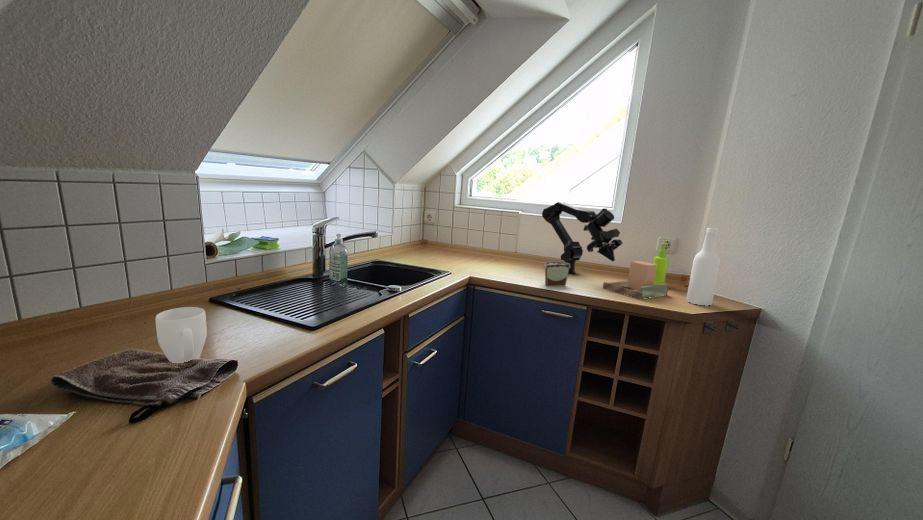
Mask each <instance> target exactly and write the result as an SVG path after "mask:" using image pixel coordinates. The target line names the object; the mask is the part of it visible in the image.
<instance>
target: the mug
mask: <svg viewBox="0 0 923 520" xmlns="http://www.w3.org/2000/svg"><path fill="white" fill-rule="evenodd" d="M206 316H207V315H206V310H205V309H204V308H202V307H196V306H186V307H185V306H184V307H176V308H170V309H167V310H164V311H161V312H159V313H157V314H156V316H155V319H154V320H155V328H156V337H157V342H158V345H159V347H160V349H161V351H162V352H163V354H164V355H165V357H166V358H167V360H168V361H170V362H172V363H184V362H188V361H190V360H192V359H199V360H200V358H201V355H202V351H203V349H204V348H205V347H204V346H205V343H206V340H207V335H208V332H207V331H208V328H207V327H208V326H207V317H206ZM170 362H169V363H170Z"/></svg>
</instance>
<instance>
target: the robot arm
mask: <svg viewBox="0 0 923 520" xmlns="http://www.w3.org/2000/svg"><path fill="white" fill-rule="evenodd" d="M562 212H563V213H564V214H565V213H566V214H568V215H571V216H572V217H575V218H576V219H577V221H578V222H580V223H583V224H584V223H585V224H584V227H583V232H585V231H587V232H589V235H591V238H590V240H591V242H589V244H588V245H587V246H586V250H587V252H588V253H592V252H594V248H595V249H598V250H597V251H596V252H597V253H599V254H600V255H602V256H603V257H605V258H607V260H610V261H611V262H615V261H616V259H615V253H614V251H615V250H617V249H618V248H619V247H620V246H621V245H623V241H622V240H621V239H614V238H619V236H620V234H621V233H620V232H621V231H619V229H618V228H613V229H609V230H607V231H606V230H604V229H603V228H605V227H607V226H608V225H609V224H610V223H611V222H612V221H613V220H615V215H614V213H612V212H611V211H610V210H608V209H607V208H605V207H603V208H602V209H601V210H600V212H599V213H596V211H595V210H588V209H581V208H578V207H577V206H573V205H570V204H568V203H566V202H564V201H557V202H555V203H553V205H550V206H548V207H545V208H544V209H543V210H542V213H541V216H542V218H543V219H544V220H545V222H547V223H548V224H550V225H551V226H552V228H553V230H554V232H555V233H556V235H557V237H558V238H559V240H560V241H561V243H562V245H563V251H564V252H563V253H562V254H561V255H560V260H561V261H563V262H566V263H570V268H569V271H568V274H575V275H576V273H577V272H576V262H578V261H580V260H581V258H582V256H583V252H584V250H583V246H581V244H580V242H579V241H573V239H572V238H571V236H570V234H569V233H568V230H567V229H566V228H565V226H564V224H563V223H562V221H561V220H560V218H561V214H562ZM586 223H587V224H586Z"/></svg>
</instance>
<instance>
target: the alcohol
mask: <svg viewBox="0 0 923 520" xmlns="http://www.w3.org/2000/svg"><path fill="white" fill-rule="evenodd" d="M719 230H720V229H719V228H714V227H707V228H706V231H705V237H704V240H703V243H702V248H700V251H699V252H698V253H696V254H695V256H694V258H693V262H692V265H691V266H692V267H691V272H690V277H689V282H688V287H687V288H688V289H687V293H686V301H687V303H689V302H690V303H689V304H691V303H694V304H700V305H710V306H712V304H713V302H714V298H715V297H714V296H715V292H716V288H717V287H716V286H717V281H718V276H719V270H720V265H721V258H720V256H719V254H718V253H717V244H718V236H719ZM694 304H693V305H694Z"/></svg>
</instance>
